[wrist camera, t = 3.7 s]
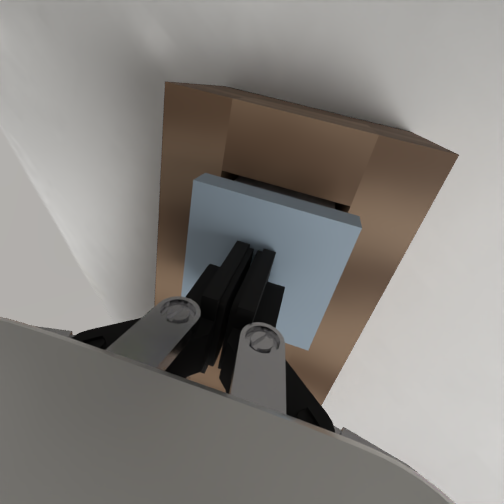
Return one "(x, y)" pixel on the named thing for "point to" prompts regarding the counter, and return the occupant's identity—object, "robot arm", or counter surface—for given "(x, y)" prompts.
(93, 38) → the counter surface
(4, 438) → the robot arm
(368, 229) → the block
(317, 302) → the blue lidded box
